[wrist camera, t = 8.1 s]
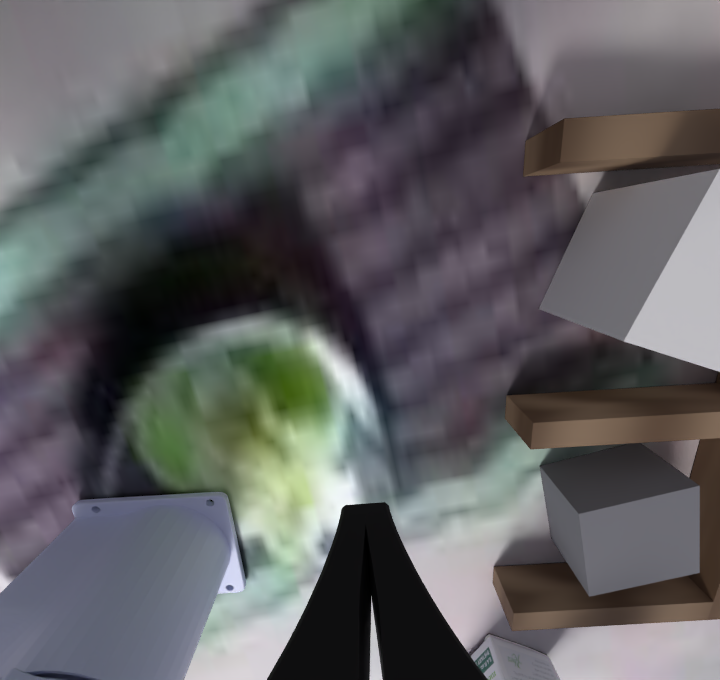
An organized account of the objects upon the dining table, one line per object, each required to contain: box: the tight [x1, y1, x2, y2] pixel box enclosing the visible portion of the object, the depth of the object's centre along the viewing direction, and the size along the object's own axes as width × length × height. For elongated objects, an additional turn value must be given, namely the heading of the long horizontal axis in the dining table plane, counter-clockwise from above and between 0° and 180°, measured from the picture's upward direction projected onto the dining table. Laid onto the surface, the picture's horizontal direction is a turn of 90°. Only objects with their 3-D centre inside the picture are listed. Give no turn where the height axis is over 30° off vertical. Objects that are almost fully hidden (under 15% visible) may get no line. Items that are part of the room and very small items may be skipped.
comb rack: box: [493, 109, 720, 631], centre depth 18 cm, size 14×28×4 cm, turn 3°
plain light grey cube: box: [539, 169, 720, 372], centre depth 15 cm, size 6×6×6 cm
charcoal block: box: [540, 443, 700, 597], centre depth 20 cm, size 6×6×4 cm
